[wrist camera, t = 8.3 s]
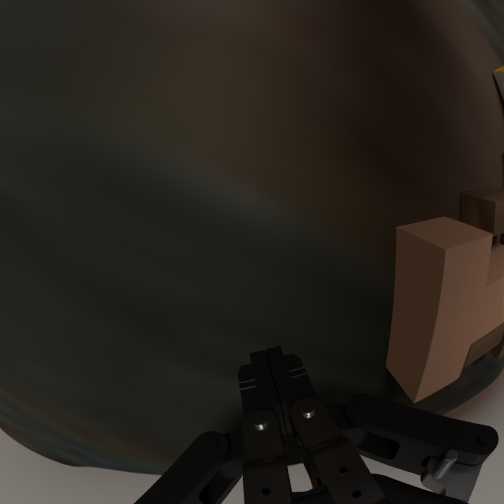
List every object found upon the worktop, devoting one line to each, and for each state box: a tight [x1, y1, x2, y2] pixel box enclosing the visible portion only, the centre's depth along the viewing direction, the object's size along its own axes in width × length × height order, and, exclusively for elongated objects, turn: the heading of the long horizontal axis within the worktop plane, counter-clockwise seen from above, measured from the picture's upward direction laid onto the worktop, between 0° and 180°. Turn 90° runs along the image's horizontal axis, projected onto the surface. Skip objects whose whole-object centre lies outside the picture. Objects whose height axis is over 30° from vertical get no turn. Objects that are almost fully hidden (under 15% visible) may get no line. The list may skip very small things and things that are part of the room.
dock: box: [460, 153, 504, 368], centre depth 14 cm, size 17×8×3 cm, turn 10°
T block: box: [386, 217, 504, 403], centre depth 14 cm, size 10×11×4 cm
